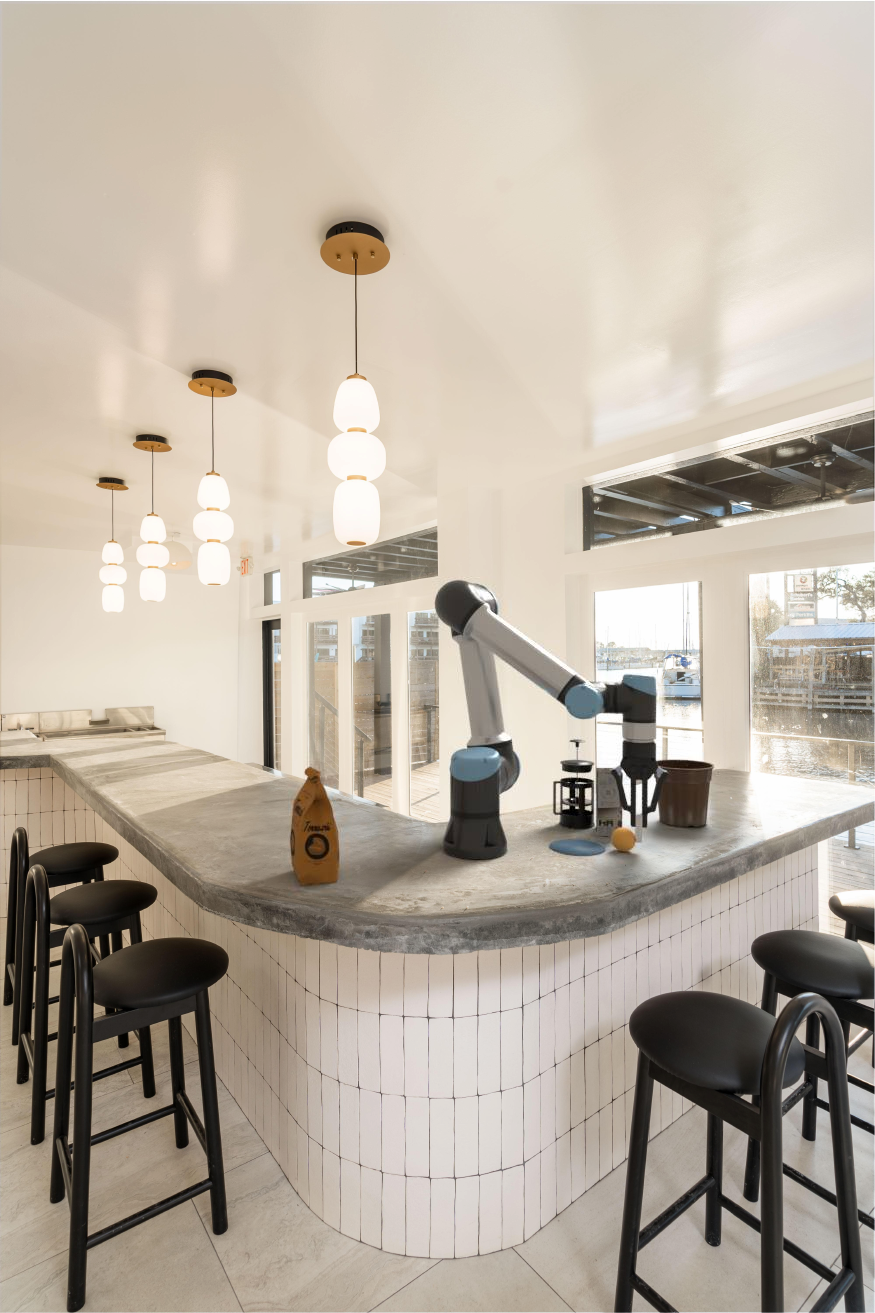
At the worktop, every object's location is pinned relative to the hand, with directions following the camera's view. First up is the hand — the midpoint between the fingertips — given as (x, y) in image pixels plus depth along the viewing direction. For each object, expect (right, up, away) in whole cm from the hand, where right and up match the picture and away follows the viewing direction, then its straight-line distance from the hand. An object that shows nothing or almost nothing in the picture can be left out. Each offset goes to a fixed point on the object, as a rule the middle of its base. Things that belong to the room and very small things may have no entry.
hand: (638, 841), depth 155 cm
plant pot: (+20, -3, +28) cm, 34 cm away
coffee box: (-2, -3, +17) cm, 18 cm away
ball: (-3, 0, +1) cm, 4 cm away
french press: (-10, -3, +25) cm, 27 cm away
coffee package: (-72, -3, -17) cm, 74 cm away
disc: (-14, -3, +4) cm, 14 cm away
